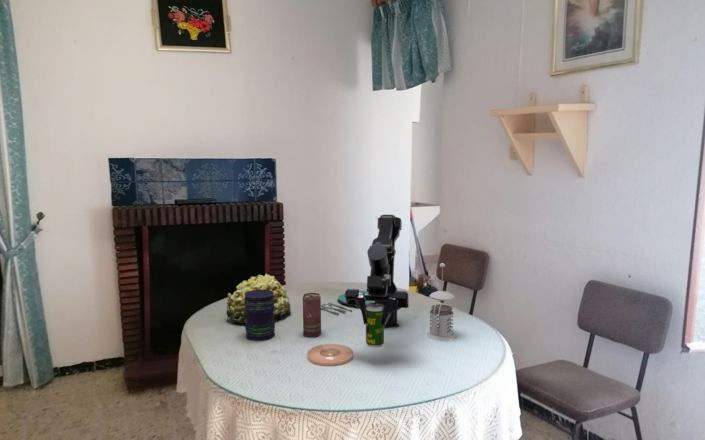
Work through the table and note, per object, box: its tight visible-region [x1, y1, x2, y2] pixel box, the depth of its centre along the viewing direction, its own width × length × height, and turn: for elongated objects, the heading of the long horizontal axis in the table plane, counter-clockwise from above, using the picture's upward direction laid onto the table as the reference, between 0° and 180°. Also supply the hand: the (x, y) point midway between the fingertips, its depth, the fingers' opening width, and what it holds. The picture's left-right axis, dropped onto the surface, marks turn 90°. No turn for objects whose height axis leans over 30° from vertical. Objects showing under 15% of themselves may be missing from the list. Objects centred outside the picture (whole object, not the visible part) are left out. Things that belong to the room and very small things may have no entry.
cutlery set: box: [321, 290, 375, 316], centre depth 205 cm, size 20×30×2 cm, turn 130°
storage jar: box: [244, 289, 276, 342], centre depth 168 cm, size 10×10×15 cm
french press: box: [426, 262, 457, 341], centre depth 166 cm, size 10×12×25 cm
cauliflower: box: [226, 273, 292, 324], centre depth 189 cm, size 25×24×16 cm
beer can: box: [365, 303, 385, 349], centre depth 145 cm, size 5×5×12 cm
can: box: [302, 292, 322, 338], centre depth 169 cm, size 6×6×14 cm
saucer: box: [306, 343, 354, 367], centre depth 151 cm, size 14×14×1 cm
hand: (374, 324), depth 144 cm, fingers closed on beer can, 5 cm apart
